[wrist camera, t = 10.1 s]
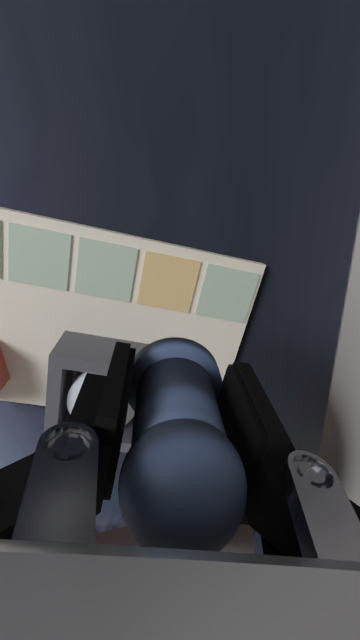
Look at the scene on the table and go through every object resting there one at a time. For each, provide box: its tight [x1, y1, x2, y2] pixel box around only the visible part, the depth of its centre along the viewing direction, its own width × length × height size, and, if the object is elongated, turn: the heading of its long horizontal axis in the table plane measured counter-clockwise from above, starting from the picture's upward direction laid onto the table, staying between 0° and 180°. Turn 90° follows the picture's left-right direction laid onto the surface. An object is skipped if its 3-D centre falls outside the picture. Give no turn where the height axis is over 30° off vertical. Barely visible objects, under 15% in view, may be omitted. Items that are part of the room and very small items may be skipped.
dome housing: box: [44, 330, 148, 452], centre depth 26 cm, size 8×8×4 cm
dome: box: [67, 371, 134, 425], centre depth 25 cm, size 6×6×5 cm
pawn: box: [118, 337, 247, 552], centre depth 9 cm, size 4×4×6 cm
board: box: [0, 207, 266, 406], centre depth 26 cm, size 17×25×1 cm
